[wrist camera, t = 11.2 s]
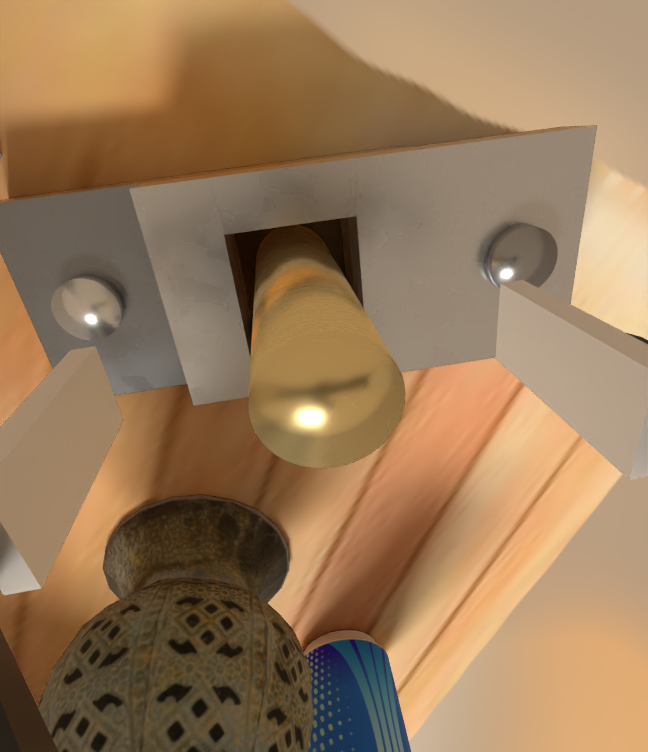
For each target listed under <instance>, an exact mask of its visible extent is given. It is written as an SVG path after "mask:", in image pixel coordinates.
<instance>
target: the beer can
mask: <svg viewBox="0 0 648 752" xmlns="http://www.w3.org/2000/svg"><path fill="white" fill-rule="evenodd" d="M304 655H305V657H306V660H307V662H308V664H309V667H310V669H311V686H312V705H313V724H312V730H311V736H310V742H309V748H308V752H411V749H410V745H409V741H408V737H407V733H406V729H405V725H404V720H403V716H402V712H401V708H400V704H399V700H398V696H397V692H396V687H395V683H394V679H393V675H392V671H391V667H390V663H389V659H388V655H387V653H386V651H385V650H384V649H383V648H382V647H381V646H380V645H378V644H377V643H376V642H375V640H374V639H373V638H372V637H371V636H369V635H368V634H366V633H363V632H360V631H355V630H340V631H334V632H330V633H327V634H325V635H322V636H320V637H318V638H317V639H315V640H314V641H312V642H311V643H310V644H309V645H308V646H307V648H306V649H305V651H304Z"/></svg>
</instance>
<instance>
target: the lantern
mask: <svg viewBox="0 0 648 752" xmlns="http://www.w3.org/2000/svg"><path fill="white" fill-rule="evenodd" d="M103 570H104V573H105V576H106V579H107V582H108V585H109V588H110V589H111V590H112V591H113V593H114V594H115V595H116V596H117V597H118V598H119V599H120V600H118V601H117V602H115V603H113V604H111V605H109V606H107V607H106V608H105V609H104V610H102V611H101V612H100V613H99V614H97V615H96V616H95V617H93V618H92V619H91V620H90V621H88V622H87V623H86V624H85V625H83V627H82V628H81V630H80V631H79V632H78V634H77V635H76V637H75V638H74V639H73V641H72V642H71V644H70V645H69V646H68V648H67V649H66V650H65V652H64V653H63V655H62V656H61V657H60V659H59V660H58V662H57V663H56V664H55V666H54V667H53V669H52V672H51V675H50V677H49V680H48V682H47V685H46V688H45V690H44V693H43V695H42V698H41V701H40V703H39V706H38V709H39V712H40V714H41V716H42V718H43V720H44V722H45V724H46V726H47V728H48V731H49V733H50V735H51V737H52V739H53V741H54V743H55V745H56V748H57V750H58V752H308V748H309V742H310V736H311V730H312V724H313V705H312V686H311V669H310V667H309V664H308V662H307V660H306V657H305V655H304V653H303V650H302V648H301V646H300V643H299V641H298V639H297V636H296V634H295V632H294V630H293V629H292V628H291V627H290V626H289V625H288V623H287V622H286V621H285V620H284V619H283V618H282V617H281V615H280V614H279V613H278V612H277V611H275V610H274V609H273V608H272V607H271V606H270V605H269V604H267V603H268V602H269V601H270V600H271V599H272V598H273V597H274V596H275V594H276V593H277V592H278V591H279V590H280V589H281V588H282V586H283V583H284V581H285V579H286V576H287V574H288V571H289V558H288V544H287V542H286V541H285V539H284V537H283V535H282V533H281V531H280V529H279V528H278V526H277V525H276V524H275V523H274V522H272V521H271V520H270V519H269V518H268V517H267V516H265V515H264V514H263V513H262V512H261V511H259V510H257V509H255V508H252V507H249V506H247V505H244V504H242V503H239V502H236V501H234V500H229V499H224V498H219V497H213V496H208V495H191V496H179V497H170V498H168V499H165V500H162V501H159V502H156V503H153V504H150V505H147V506H144V507H142V508H141V509H139V510H138V511H137V512H135V513H134V514H132V515H131V516H130V517H128V518H127V519H125V520H124V521H123V522H121V523H120V525H119V526H118V528H117V529H116V531H115V532H114V534H113V535H112V537H111V538H110V540H109V541H108V543H107V546H106V550H105V557H104V563H103Z"/></svg>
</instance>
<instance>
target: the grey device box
mask: <svg viewBox="0 0 648 752" xmlns="http://www.w3.org/2000/svg"><path fill="white" fill-rule="evenodd" d="M596 130H597V126H570V127H557V128H549V129H542V130H534V131H527V132H519V133H512V134H505V135H497V136H490V137H482V138H475V139H467V140H460V141H453V142H445V143H438V144H430V145H423V146H416V147H405V146H395V147H387V148H380V149H372V150H365V151H357V152H350V153H342V154H335V155H328V156H320V157H313V158H305V159H298V160H290V161H283V162H275V163H268V164H261V165H253V166H246V167H238V168H231V169H223V170H216V171H209V172H201V173H194V174H186V175H179V176H171V177H164V178H156V179H149V180H142V181H134V182H127V183H119V184H112V185H104V186H97V187H89V188H82V189H75V190H67V191H60V192H52V193H45V194H37V195H30V196H22V197H15V198H8V199H4V200H0V252H1V254H2V257H3V259H4V261H5V263H6V266H7V268H8V270H9V272H10V274H11V277H12V279H13V281H14V283H15V286H16V288H17V290H18V292H19V294H20V297H21V299H22V301H23V303H24V306H25V308H26V310H27V312H28V314H29V317H30V319H31V321H32V323H33V326H34V328H35V330H36V332H37V334H38V337H39V339H40V341H41V343H42V346H43V348H44V350H45V352H46V354H47V357H48V359H49V361H50V363H51V365H52V368H53V369H54V368H55V366H56V365H57V364H58V363H59V362H60V361H61V360H62V359H63V358H64V357H65V355H66V354H67V353H68V352H69V351H70V350H74V349H81V348H87V347H94V346H96V349H97V352H98V354H99V357H100V359H101V362H102V365H103V367H104V370H105V372H106V375H107V378H108V380H109V383H110V385H111V388H112V390H113V393H114V395H120V394H127V393H133V392H139V391H146V390H152V389H158V388H165V387H171V386H177V385H184V384H187V385H188V389H189V392H190V395H191V399H192V402H193V405H194V406H196V405H203V404H209V403H215V402H221V401H228V400H234V399H240V398H246V397H248V395H249V377H250V360H251V342H252V325H253V319H252V317H251V312H250V307H249V302H248V297H247V292H246V287H245V282H244V277H243V273H242V268H241V263H240V258H239V253H238V248H237V243H236V238H235V233H241V232H248V231H255V230H262V229H269V228H276V227H283V226H290V225H297V224H304V223H311V222H319V221H326V220H333V219H340V218H341V228H342V239H343V249H344V260H345V271H346V280H347V281H348V283H349V285H350V286H351V288H352V290H353V291H354V293H355V295H356V296H357V298H358V300H359V302H360V303H361V305H362V307H363V308H364V310H365V312H366V313H367V315H368V317H369V318H370V320H371V322H372V323H373V325H374V327H375V329H376V330H377V332H378V334H379V335H380V337H381V339H382V340H383V342H384V344H385V345H386V347H387V349H388V351H389V352H390V354H391V356H392V357H393V359H394V361H395V362H396V364H397V366H398V367H399V370H400V372H401V373H402V372H408V371H414V370H421V369H427V368H433V367H439V366H445V365H452V364H458V363H464V362H470V361H477V360H483V359H489V358H495V356H496V341H497V326H498V311H499V296H500V283H506V282H512V281H519V280H524V281H526V282H528V283H530V284H532V285H534V286H536V287H537V288H539V289H541V290H543V291H545V292H547V293H549V294H551V295H553V296H555V297H557V298H559V299H561V300H563V301H565V302H567V303H569V304H571V297H572V290H573V284H574V277H575V270H576V264H577V257H578V250H579V244H580V237H581V230H582V224H583V217H584V210H585V203H586V197H587V190H588V183H589V177H590V170H591V163H592V157H593V150H594V143H595V136H596Z"/></svg>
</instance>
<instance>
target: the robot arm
mask: <svg viewBox="0 0 648 752" xmlns="http://www.w3.org/2000/svg"><path fill="white" fill-rule="evenodd" d="M495 359H497V360H498V361H499V362H500V363H501V364H502V365H503V366H504V367H505V368H506V369H508V370H509V371H510V372H511V373H512V374H513V375H514V376H515V377H516V378H518V379H519V380H520V381H521V382H522V383H523V384H524V385H525V386H526V387H527V388H529V389H530V390H531V391H532V392H533V393H534V394H535V395H536V396H537V397H538V398H540V399H541V400H542V401H543V402H544V403H545V404H546V405H547V406H548V407H550V408H551V409H552V410H553V411H554V412H555V413H556V414H557V415H558V416H559V417H561V418H562V419H563V420H564V421H565V422H566V423H567V424H568V425H569V426H570V427H572V428H573V429H574V430H575V431H576V432H577V433H578V434H579V435H580V436H581V437H583V438H584V439H585V440H586V441H587V442H588V443H589V444H590V445H591V446H593V447H594V448H595V449H596V450H597V451H598V452H599V453H600V454H601V455H602V456H604V457H605V458H606V459H607V460H608V461H609V462H610V463H611V464H612V465H613V466H615V467H616V468H617V469H618V470H619V471H620V472H621V473H622V474H623V475H625V476H626V477H627V478H628V479H629V480H630V479H636V478H641V477H647V476H648V340H646V339H644V338H642V337H639V336H635V335H632V334H628V333H625V332H623V331H621V330H619V329H617V328H615V327H613V326H611V325H609V324H607V323H605V322H603V321H601V320H600V319H598V318H596V317H594V316H592V315H590V314H588V313H586V312H584V311H582V310H580V309H578V308H576V307H574V306H572V305H570V304H569V303H567V302H565V301H563V300H561V299H559V298H557V297H555V296H553V295H551V294H549V293H547V292H545V291H543V290H541V289H539V288H537V287H536V286H534V285H532V284H530V283H528V282H526V281H524V280H519V281H512V282H506V283H500V296H499V311H498V326H497V341H496V356H495ZM123 420H124V419H123V416H122V414H121V411H120V409H119V406H118V403H117V401H116V398H115V396H114V393H113V390H112V388H111V385H110V383H109V380H108V378H107V375H106V372H105V370H104V367H103V365H102V362H101V359H100V357H99V354H98V352H97V349H96V346H94V347H87V348H81V349H74V350H70V351H69V352H68V353H67V354H66V355H65V357H64V358H63V359H62V360H61V361H60V362H59V363H58V364H57V365H56V366H55V368H54V369H53V370H52V371H51V372H50V373H49V374H48V375H47V376H46V377H45V379H44V380H43V381H42V382H41V383H40V384H39V385H38V386H37V387H36V388H35V390H34V391H33V392H32V393H31V394H30V395H29V396H28V397H27V398H26V399H25V400H24V402H23V403H22V404H21V405H20V406H19V407H18V408H17V409H16V410H15V411H14V413H13V414H12V415H11V416H10V417H9V418H8V419H7V420H6V421H5V422H4V424H3V425H2V426H1V427H0V590H1V591H2V593H3V594H4V595H9V594H15V593H20V592H26V591H31V590H36V589H41V588H42V586H43V584H44V582H45V580H46V578H47V576H48V574H49V572H50V570H51V568H52V566H53V564H54V562H55V560H56V558H57V556H58V554H59V552H60V550H61V547H62V545H63V543H64V541H65V539H66V537H67V535H68V533H69V531H70V529H71V527H72V525H73V523H74V521H75V519H76V517H77V515H78V513H79V511H80V509H81V506H82V504H83V502H84V500H85V498H86V496H87V494H88V492H89V490H90V488H91V486H92V484H93V482H94V480H95V478H96V476H97V474H98V472H99V470H100V468H101V466H102V463H103V461H104V459H105V457H106V455H107V453H108V451H109V449H110V447H111V445H112V443H113V441H114V439H115V437H116V435H117V433H118V431H119V429H120V427H121V425H122V422H123ZM0 752H58V750H57V748H56V745H55V743H54V741H53V739H52V737H51V735H50V733H49V731H48V728H47V726H46V724H45V722H44V720H43V718H42V716H41V714H40V712H39V709H38V707H37V705H36V703H35V701H34V699H33V697H32V695H31V693H30V690H29V688H28V686H27V684H26V682H25V680H24V678H23V676H22V674H21V671H20V669H19V667H18V665H17V663H16V661H15V659H14V657H13V655H12V652H11V650H10V648H9V646H8V644H7V642H6V640H5V638H4V636H3V633H2V631H1V629H0Z"/></svg>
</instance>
